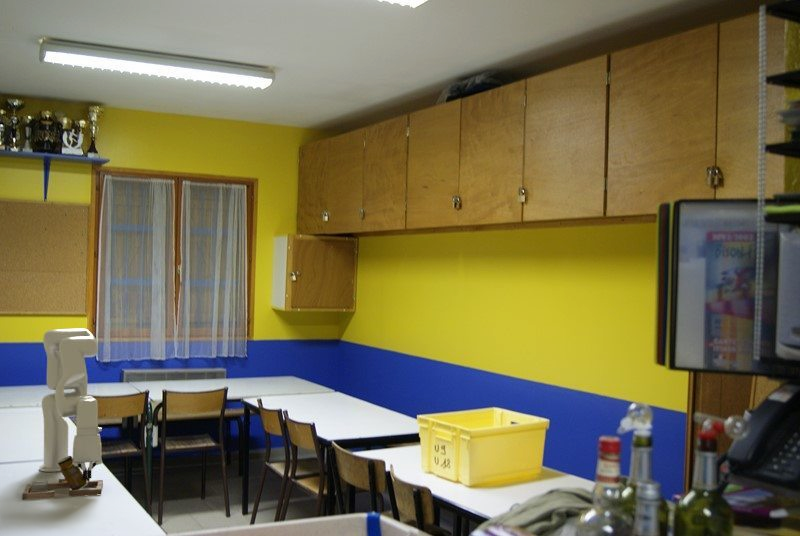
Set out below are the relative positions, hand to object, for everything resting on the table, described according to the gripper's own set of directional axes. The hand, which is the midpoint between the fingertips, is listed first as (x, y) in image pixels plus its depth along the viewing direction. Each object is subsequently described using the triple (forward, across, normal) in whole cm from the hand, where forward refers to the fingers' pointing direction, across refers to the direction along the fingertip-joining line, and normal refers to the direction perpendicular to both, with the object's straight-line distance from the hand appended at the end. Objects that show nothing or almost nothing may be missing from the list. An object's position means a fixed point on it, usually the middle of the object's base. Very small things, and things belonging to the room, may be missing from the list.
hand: (87, 480), depth 315 cm
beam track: (+4, +8, -2) cm, 9 cm away
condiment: (+3, +3, -1) cm, 4 cm away
